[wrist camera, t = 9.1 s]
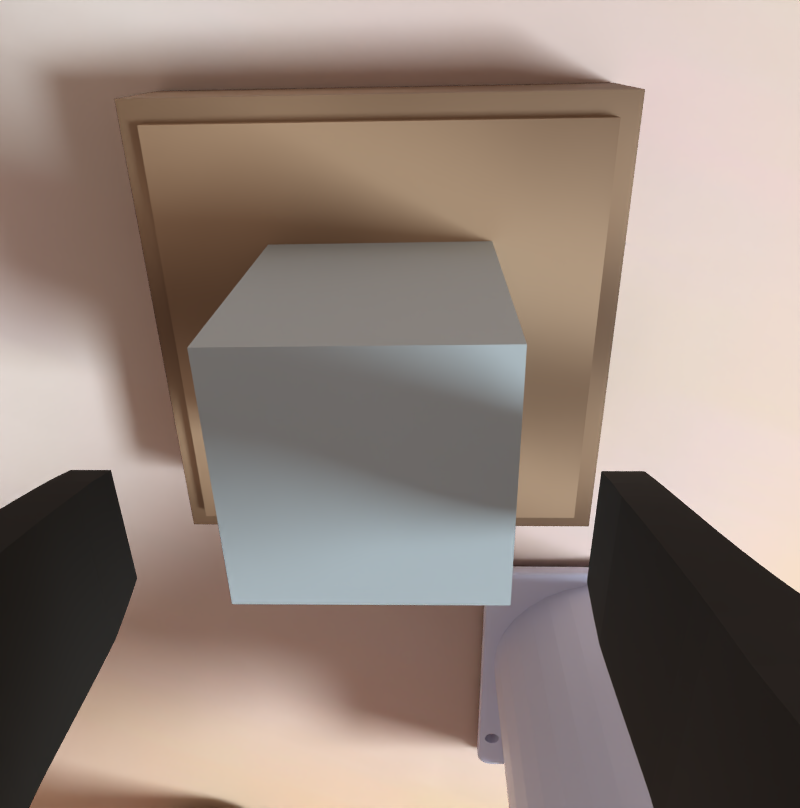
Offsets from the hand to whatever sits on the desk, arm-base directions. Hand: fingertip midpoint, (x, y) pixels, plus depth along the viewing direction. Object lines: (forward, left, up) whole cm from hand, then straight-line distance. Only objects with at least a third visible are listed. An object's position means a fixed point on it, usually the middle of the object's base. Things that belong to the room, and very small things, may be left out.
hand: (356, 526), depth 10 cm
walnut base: (0, 0, -10) cm, 10 cm away
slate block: (0, 0, -7) cm, 7 cm away
